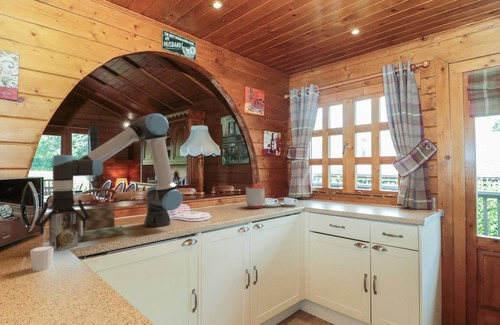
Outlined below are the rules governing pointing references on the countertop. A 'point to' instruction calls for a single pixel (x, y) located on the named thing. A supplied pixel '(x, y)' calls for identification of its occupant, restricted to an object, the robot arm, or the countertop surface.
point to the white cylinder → (41, 258)
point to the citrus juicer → (255, 196)
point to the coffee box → (63, 230)
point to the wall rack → (98, 224)
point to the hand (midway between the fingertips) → (63, 238)
